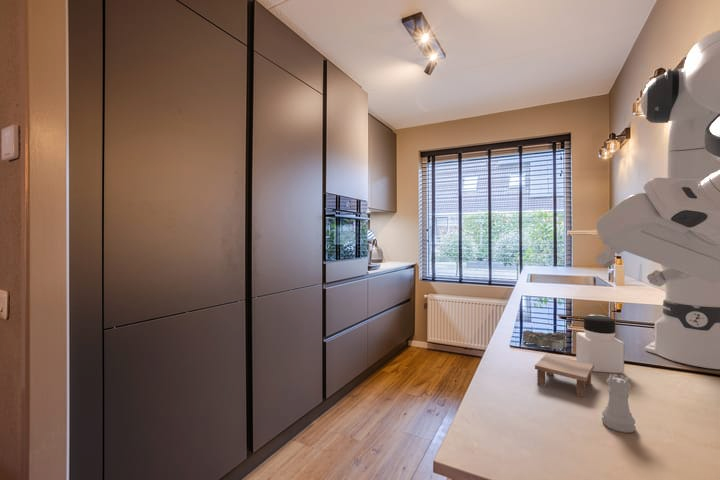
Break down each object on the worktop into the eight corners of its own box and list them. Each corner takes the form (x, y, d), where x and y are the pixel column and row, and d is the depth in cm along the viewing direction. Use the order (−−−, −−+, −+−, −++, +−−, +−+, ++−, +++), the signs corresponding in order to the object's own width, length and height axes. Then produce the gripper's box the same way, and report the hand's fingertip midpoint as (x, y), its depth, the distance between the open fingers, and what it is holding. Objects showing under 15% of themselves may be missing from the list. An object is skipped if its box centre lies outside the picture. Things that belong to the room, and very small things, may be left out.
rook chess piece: (643, 431, 53) (643, 381, 53) (622, 436, 52) (622, 385, 51) (614, 416, 57) (614, 370, 57) (594, 421, 56) (595, 373, 56)
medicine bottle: (624, 374, 75) (625, 320, 75) (589, 371, 76) (589, 319, 76) (607, 362, 82) (608, 313, 82) (575, 360, 83) (575, 312, 83)
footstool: (546, 371, 76) (546, 354, 76) (593, 383, 70) (593, 364, 70) (534, 384, 70) (534, 365, 70) (586, 398, 64) (586, 377, 64)
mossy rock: (569, 347, 94) (569, 332, 94) (559, 353, 89) (559, 338, 89) (530, 338, 102) (530, 324, 102) (519, 343, 97) (519, 329, 97)
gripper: (771, 223, 46) (673, 277, 56) (641, 173, 44) (565, 238, 54) (803, 258, 42) (692, 309, 52) (661, 203, 40) (575, 267, 50)
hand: (626, 272), depth 53 cm, fingers open, 8 cm apart
